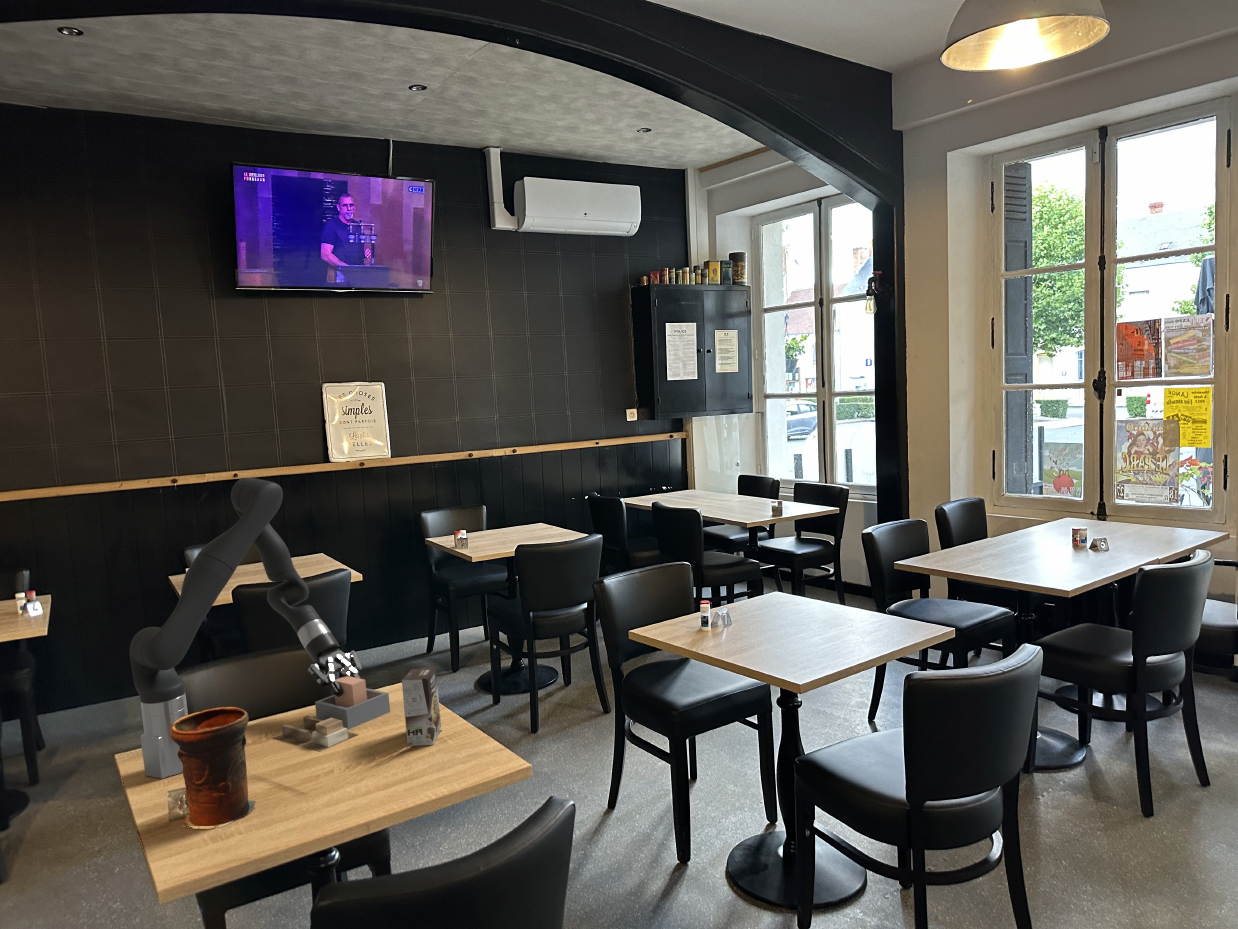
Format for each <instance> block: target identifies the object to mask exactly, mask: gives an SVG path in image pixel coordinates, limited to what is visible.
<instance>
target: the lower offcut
mask: <svg viewBox="0 0 1238 929" xmlns="http://www.w3.org/2000/svg"><path fill="white" fill-rule="evenodd" d="M348 732H349V730H348V729H347V728H344V727H343V729H341V730H339V731H337V732H334V733H332V734H329V735H325V734H321V733H318V732H316V731H314V732H312V736H313V743H316V744H320V745H323V746H327V747H330V746H332V745H334V744H337V743H339V742H341V741H344V740H346V739H348ZM346 741H347V740H346ZM344 742H345V741H344ZM339 744H340V743H339ZM337 745H338V744H337ZM332 747H333V746H332ZM330 748H331V747H330Z"/></svg>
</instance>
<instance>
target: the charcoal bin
mask: <svg viewBox="0 0 1238 929" xmlns="http://www.w3.org/2000/svg"><path fill="white" fill-rule="evenodd" d="M366 693H367V700H366V701H363V702H361V703H358V704H356V705H353V706H351V707H348V708H345V707H341V706H337V705H336V703H335V695H334V694H332V695H330V696H326V697H325V698H322V699H319V700H317V701H314V705H315V716H316V717H315V718H317V719H321V720H327V719H329V718H334V719H338V720H342V722H343V727H344V728H347V730H348V731H349V730H351V729H354V728H356V727H359V726H361V725H362V724H365V723H369V722H370V721H372V720H375V719H377V718H379V717H382V716H384V715H387V714H389V713H391V706H390V697H389V696H390V693H389V692H385V691H381V690H376V689H371V688H367V687H366Z"/></svg>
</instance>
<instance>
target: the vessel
mask: <svg viewBox="0 0 1238 929" xmlns="http://www.w3.org/2000/svg"><path fill="white" fill-rule="evenodd" d="M248 725H249V713H248V712H247V711H246V710H244V709H242V708H239V707H234V706H222V707H216V708H211V709H204V710H202V711H198V712H194V713H191V714H188V715H187V716H184V717H182V718H180V719H179V720H177V721H175V722H174V723H173V724H172V726H171V733H170V735H171V738H172V740H173V741H174V742H175V743H177V744H178V745H179V747H180V749H179V751H178V757H179V759H180V760H181V762H182V764H183V771H182V772H181V773H182V775H183V780H184V784H185V785H184V786H185V791H184V794H185V795H186V798H187V805H188V811H189V812H188V813H189V814H186V817H184V819H183V822H182V823H185V824H184V825H182V827H184V828H189V827H188V826H198V827H199V826H214V829H217V828H221V827H224V826H228V825H229V824H232V823H234V822H235V821H238V820H239V819H243V818H245V817H246V816H248V815H250V814H251V813H252V812H253V811H254V810H256V808H255V805H256V800H254V799H252V798H250V799H249V785H248V773H247V760H246V759H247V758H246V750H245V748H246V747H245V746H246V745H247V738H246V729H247V727H248ZM216 826H218V827H216ZM215 827H216V828H215Z"/></svg>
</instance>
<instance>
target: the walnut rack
mask: <svg viewBox="0 0 1238 929" xmlns="http://www.w3.org/2000/svg"><path fill="white" fill-rule="evenodd" d="M302 718H303V725H301V726H298V727H297V726H293V725H291V724H287V723H284V724H282V725H281V727H282V728H281V729H282V733H281V734H278V735H276V736H274V737H273V739H276V740H280V741H283V742H286V743H289V744H293V745H296V746H299V747H302V748H306V749H310V750H313V751H316V752H319V753H320V752H323V751H326V750H327V749H330V748H332V747H334V746H337V745H339V744H341V743H344V742H346V741H349V740H350V739H351V740H352V739H353V738H355V737H357V736H359V733H358V734H357V733H354V732H350V731H348V739H346V740H344V741H341V742H339V743H337V744H334V745H332V746H330V747H327V746H323V745H320V744H316V743H313V736H312V732H314V731H316V724H317V723H319V722H322V721H324V720H321V719H317V717H314V716H313V717H312V716H309V715H304V716H303V717H302Z"/></svg>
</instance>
